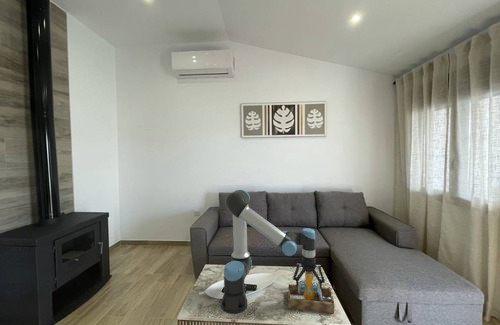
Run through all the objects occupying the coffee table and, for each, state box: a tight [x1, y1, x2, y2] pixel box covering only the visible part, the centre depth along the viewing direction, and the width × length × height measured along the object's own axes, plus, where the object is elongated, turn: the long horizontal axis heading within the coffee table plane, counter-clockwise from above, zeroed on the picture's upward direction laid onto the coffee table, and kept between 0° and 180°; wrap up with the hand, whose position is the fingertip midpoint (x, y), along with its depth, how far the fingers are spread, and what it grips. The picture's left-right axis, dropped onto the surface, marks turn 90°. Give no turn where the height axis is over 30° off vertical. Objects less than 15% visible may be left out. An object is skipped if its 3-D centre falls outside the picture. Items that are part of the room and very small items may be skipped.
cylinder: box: [299, 271, 319, 301], centre depth 136 cm, size 12×10×15 cm
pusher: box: [318, 289, 331, 302], centre depth 134 cm, size 8×13×6 cm, turn 169°
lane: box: [287, 283, 335, 314], centre depth 136 cm, size 25×16×6 cm, turn 79°
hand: (308, 292), depth 136 cm, fingers closed on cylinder, 11 cm apart
